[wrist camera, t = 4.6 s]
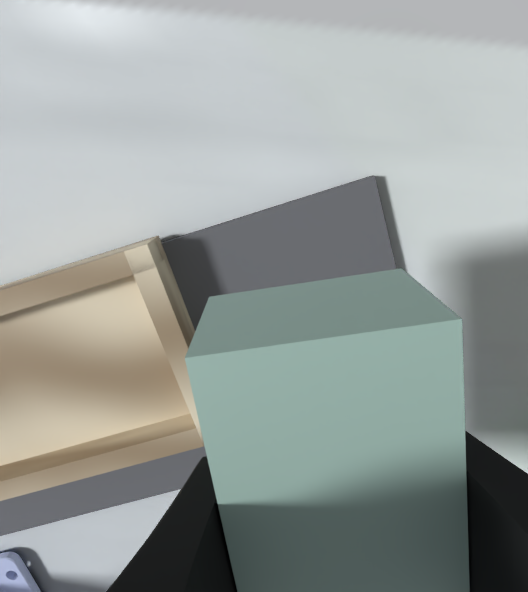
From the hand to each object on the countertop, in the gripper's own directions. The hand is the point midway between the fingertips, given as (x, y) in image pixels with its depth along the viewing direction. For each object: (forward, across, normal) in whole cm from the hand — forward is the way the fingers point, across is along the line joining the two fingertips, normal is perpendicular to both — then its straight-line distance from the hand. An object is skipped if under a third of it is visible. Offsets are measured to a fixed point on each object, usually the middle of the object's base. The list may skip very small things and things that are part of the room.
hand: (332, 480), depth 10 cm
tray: (+8, +10, 0) cm, 13 cm away
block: (+1, 0, 0) cm, 1 cm away
